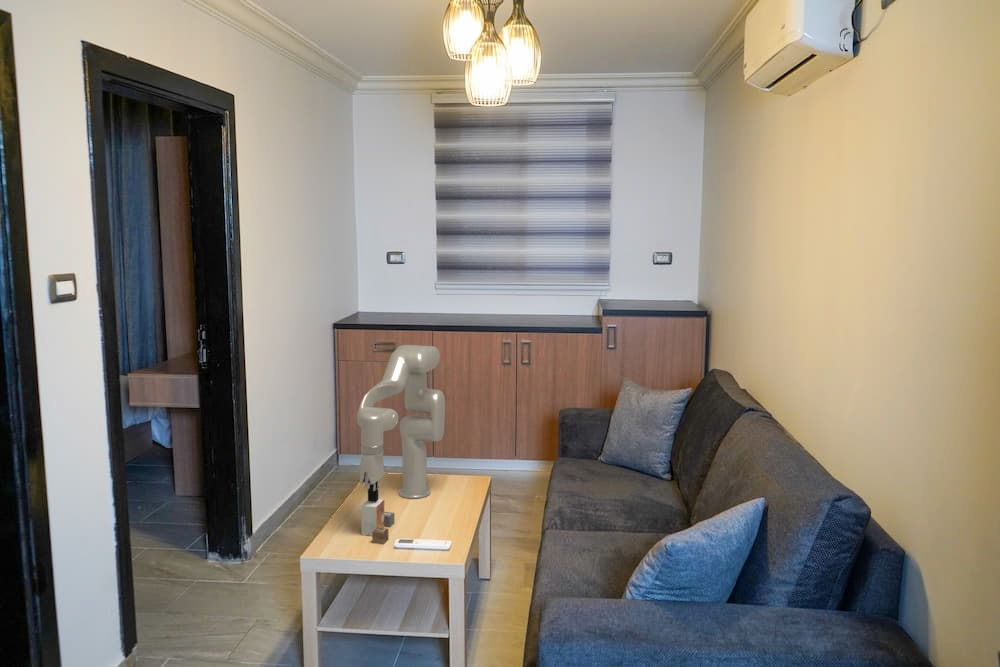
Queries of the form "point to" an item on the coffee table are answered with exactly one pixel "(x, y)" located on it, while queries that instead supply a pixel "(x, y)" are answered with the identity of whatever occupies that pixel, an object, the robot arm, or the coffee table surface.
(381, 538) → the digit seven block
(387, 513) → the digit one block
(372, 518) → the small box
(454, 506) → the coffee table surface
